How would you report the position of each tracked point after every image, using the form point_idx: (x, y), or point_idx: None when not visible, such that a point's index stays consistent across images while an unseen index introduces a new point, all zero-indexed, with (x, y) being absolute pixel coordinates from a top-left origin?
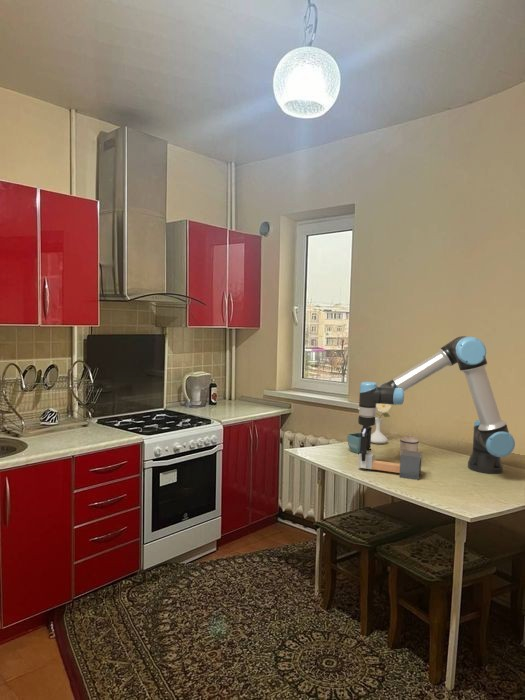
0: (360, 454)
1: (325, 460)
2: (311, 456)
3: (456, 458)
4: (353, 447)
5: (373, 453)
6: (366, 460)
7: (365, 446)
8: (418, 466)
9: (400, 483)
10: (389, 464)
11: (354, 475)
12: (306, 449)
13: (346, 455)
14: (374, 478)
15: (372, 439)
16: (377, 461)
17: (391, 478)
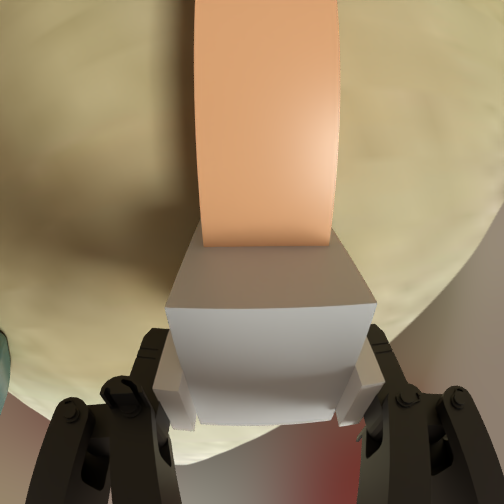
0: (327, 414)
1: (205, 432)
2: (186, 453)
3: None
4: (4, 372)
5: (168, 318)
6: None
7: (498, 465)
8: None
9: (477, 6)
10: (320, 7)
11: (430, 296)
12: None
13: (62, 377)
14: (465, 166)
15: None
16: (240, 187)
17: (422, 34)
